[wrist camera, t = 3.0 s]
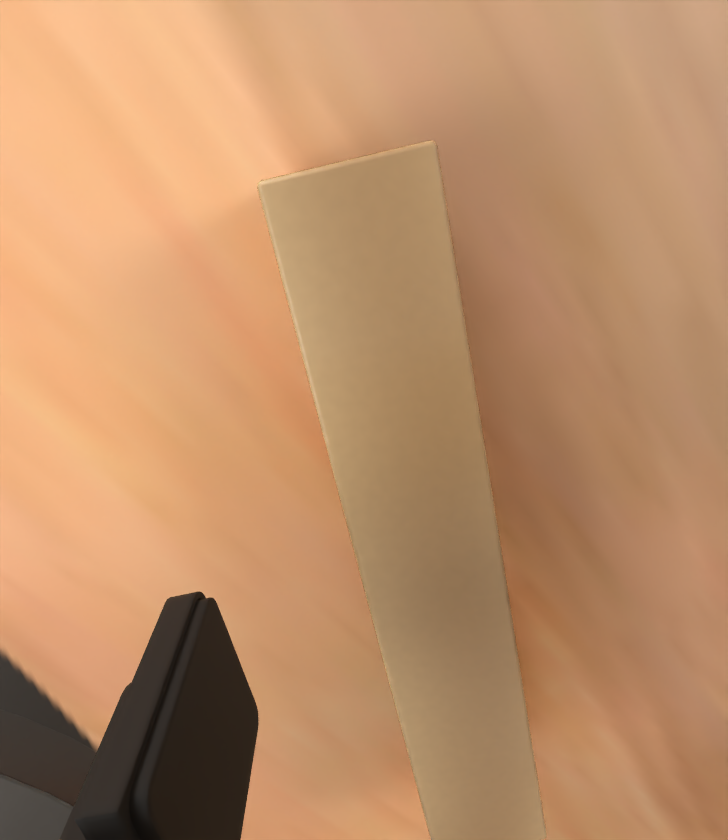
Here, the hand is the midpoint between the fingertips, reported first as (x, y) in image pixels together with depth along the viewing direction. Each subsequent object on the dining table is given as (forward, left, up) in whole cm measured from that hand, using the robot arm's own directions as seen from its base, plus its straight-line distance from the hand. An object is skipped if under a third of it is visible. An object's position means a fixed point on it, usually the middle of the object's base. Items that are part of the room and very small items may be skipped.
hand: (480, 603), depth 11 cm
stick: (-1, 0, -4) cm, 4 cm away
